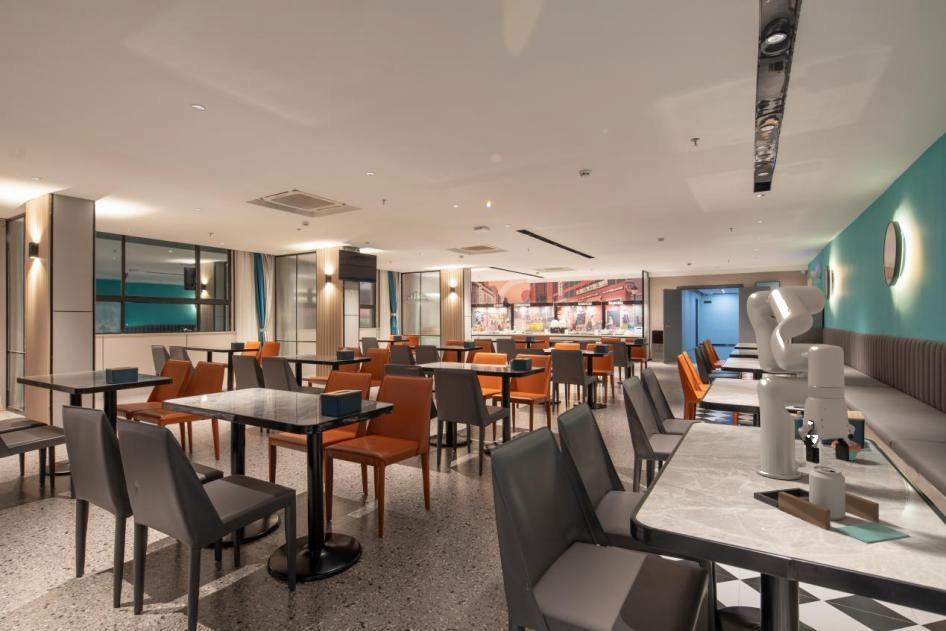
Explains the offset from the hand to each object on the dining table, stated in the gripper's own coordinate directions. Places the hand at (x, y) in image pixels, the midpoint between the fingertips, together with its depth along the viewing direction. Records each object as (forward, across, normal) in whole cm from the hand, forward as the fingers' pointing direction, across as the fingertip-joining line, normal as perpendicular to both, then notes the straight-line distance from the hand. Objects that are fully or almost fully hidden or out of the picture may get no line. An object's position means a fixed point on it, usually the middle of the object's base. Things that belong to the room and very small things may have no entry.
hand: (827, 461), depth 125 cm
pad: (+14, 0, +10) cm, 17 cm away
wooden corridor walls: (+14, 0, -1) cm, 14 cm away
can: (+14, 0, -1) cm, 14 cm away
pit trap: (+14, 0, -12) cm, 18 cm away
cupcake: (+13, -56, -38) cm, 69 cm away
